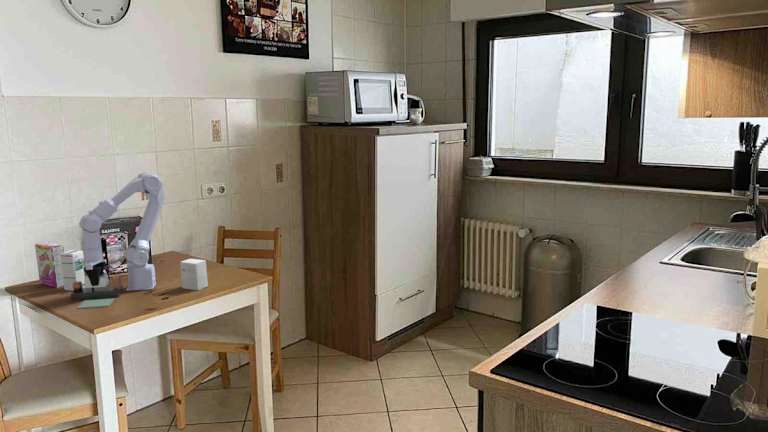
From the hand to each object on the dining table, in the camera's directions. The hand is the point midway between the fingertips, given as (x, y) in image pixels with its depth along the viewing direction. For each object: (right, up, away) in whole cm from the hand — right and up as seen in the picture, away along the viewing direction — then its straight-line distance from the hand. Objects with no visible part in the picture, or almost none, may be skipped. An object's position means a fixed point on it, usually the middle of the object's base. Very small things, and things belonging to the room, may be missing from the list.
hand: (96, 283), depth 213 cm
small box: (+33, -3, +9) cm, 34 cm away
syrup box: (-13, -3, +10) cm, 17 cm away
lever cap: (0, -1, 0) cm, 1 cm away
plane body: (0, -4, +1) cm, 5 cm away
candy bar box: (-24, -2, +15) cm, 29 cm away
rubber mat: (+4, -6, -8) cm, 11 cm away
